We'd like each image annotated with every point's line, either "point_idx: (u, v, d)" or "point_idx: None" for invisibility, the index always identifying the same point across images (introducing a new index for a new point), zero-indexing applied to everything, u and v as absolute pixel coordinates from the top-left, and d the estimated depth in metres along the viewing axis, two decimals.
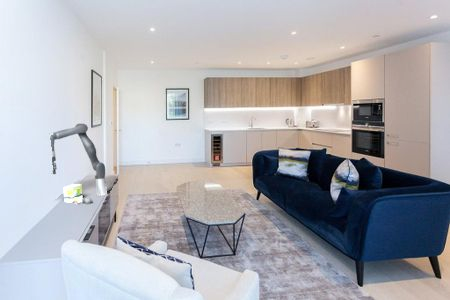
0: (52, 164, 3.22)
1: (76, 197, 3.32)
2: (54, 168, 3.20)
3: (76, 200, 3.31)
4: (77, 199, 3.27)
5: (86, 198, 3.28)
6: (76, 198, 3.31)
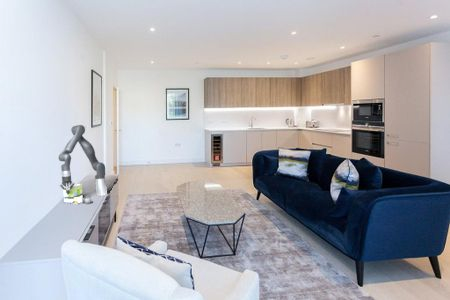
0: (71, 183, 3.28)
1: (76, 197, 3.32)
2: (71, 188, 3.28)
3: (76, 200, 3.31)
4: (77, 199, 3.27)
5: (86, 198, 3.28)
6: (76, 198, 3.31)
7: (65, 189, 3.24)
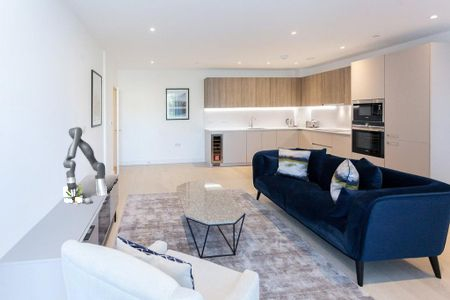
0: (76, 189, 3.31)
1: (76, 197, 3.33)
2: (76, 194, 3.32)
3: (76, 200, 3.31)
4: (77, 199, 3.27)
5: (86, 198, 3.28)
6: (76, 198, 3.31)
7: (70, 195, 3.27)
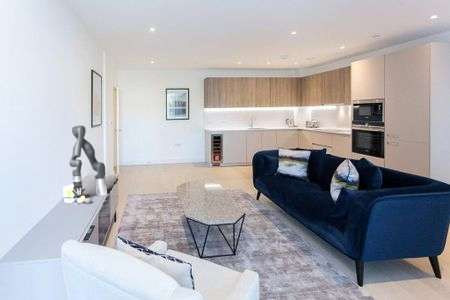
0: (81, 188, 3.35)
1: (82, 196, 3.36)
2: None
3: (82, 199, 3.35)
4: (77, 199, 3.27)
5: (86, 198, 3.28)
6: (82, 197, 3.35)
7: (76, 194, 3.31)
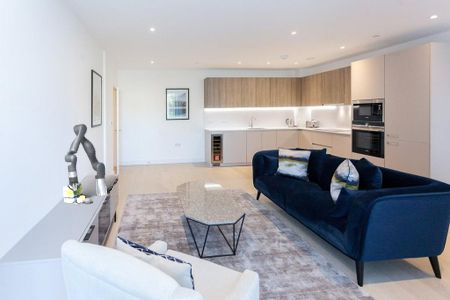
0: (77, 183, 3.32)
1: (82, 196, 3.36)
2: (78, 188, 3.32)
3: (82, 199, 3.35)
4: (77, 199, 3.27)
5: (86, 198, 3.28)
6: (82, 197, 3.35)
7: (72, 189, 3.28)
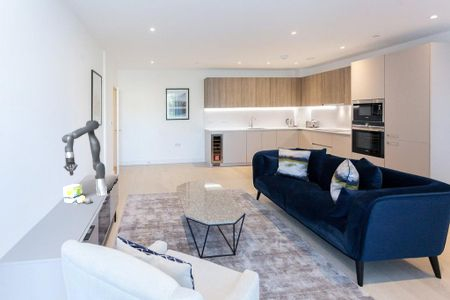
0: (74, 164, 3.32)
1: (82, 196, 3.36)
2: (74, 169, 3.32)
3: (82, 199, 3.35)
4: (77, 199, 3.27)
5: (86, 198, 3.28)
6: (82, 197, 3.35)
7: (69, 170, 3.28)
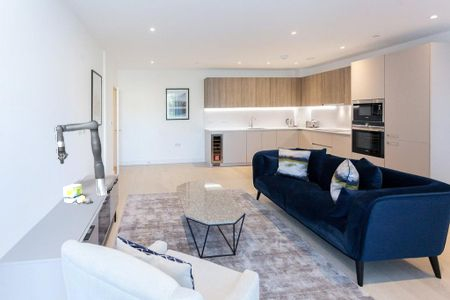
0: (65, 153, 3.46)
1: (82, 196, 3.36)
2: (65, 158, 3.47)
3: (82, 199, 3.35)
4: (77, 199, 3.27)
5: (86, 198, 3.28)
6: (82, 197, 3.35)
7: (59, 159, 3.43)
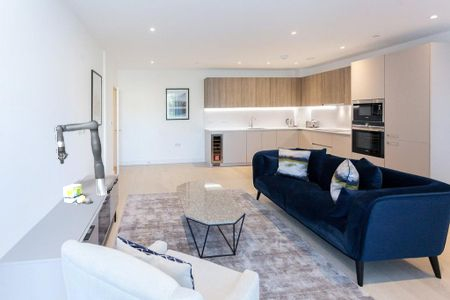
0: (65, 153, 3.46)
1: (82, 196, 3.36)
2: (65, 158, 3.47)
3: (82, 199, 3.35)
4: (77, 199, 3.27)
5: (86, 198, 3.28)
6: (82, 197, 3.35)
7: (59, 159, 3.43)
